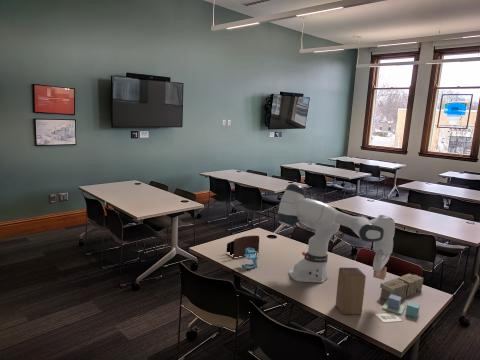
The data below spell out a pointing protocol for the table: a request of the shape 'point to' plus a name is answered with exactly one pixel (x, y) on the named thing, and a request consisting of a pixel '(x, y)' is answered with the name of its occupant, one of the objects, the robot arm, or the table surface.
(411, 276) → the block tower
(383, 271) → the orange cube
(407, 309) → the teal cube
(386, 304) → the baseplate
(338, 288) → the wooden block
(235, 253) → the letter holder
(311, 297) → the table surface
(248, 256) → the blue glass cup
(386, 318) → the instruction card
